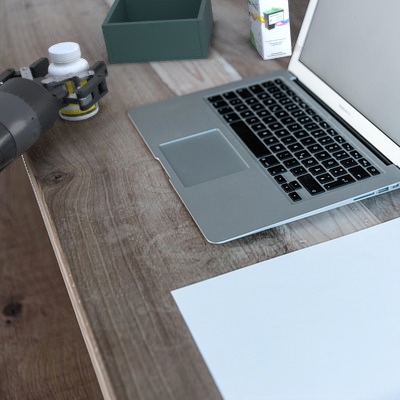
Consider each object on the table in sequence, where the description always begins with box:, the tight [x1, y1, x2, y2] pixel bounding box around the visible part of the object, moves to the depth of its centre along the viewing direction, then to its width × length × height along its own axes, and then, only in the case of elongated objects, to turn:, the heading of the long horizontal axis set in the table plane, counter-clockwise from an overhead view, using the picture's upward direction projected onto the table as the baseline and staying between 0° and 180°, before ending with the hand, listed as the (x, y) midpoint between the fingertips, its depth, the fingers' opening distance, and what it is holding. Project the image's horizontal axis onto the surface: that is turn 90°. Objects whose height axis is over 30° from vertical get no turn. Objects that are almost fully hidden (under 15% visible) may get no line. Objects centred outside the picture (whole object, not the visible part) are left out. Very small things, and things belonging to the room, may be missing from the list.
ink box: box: [246, 0, 293, 60], centre depth 113 cm, size 8×5×12 cm, turn 19°
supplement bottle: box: [48, 41, 99, 122], centre depth 98 cm, size 5×5×10 cm
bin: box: [101, 0, 215, 65], centre depth 118 cm, size 16×16×7 cm
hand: (74, 65), depth 98 cm, fingers open, 8 cm apart
